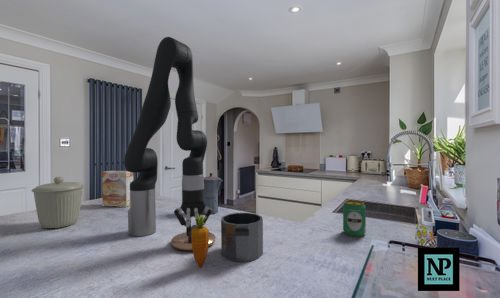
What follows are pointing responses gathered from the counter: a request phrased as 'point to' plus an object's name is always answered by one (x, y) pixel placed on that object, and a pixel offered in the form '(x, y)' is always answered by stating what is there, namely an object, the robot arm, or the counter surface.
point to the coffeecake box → (116, 188)
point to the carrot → (200, 241)
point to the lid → (187, 240)
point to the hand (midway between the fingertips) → (193, 236)
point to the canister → (58, 203)
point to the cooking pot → (242, 237)
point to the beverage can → (354, 218)
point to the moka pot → (211, 192)
